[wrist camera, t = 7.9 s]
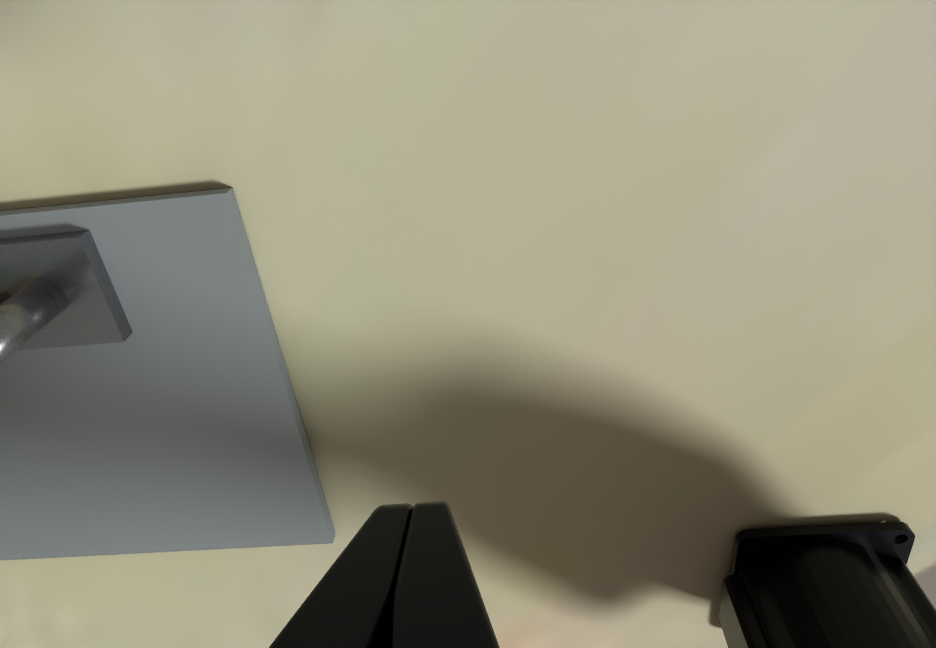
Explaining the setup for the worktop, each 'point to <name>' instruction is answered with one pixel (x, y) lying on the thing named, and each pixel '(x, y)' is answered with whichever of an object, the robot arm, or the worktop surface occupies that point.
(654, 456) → the worktop surface
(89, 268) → the post on square base
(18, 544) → the yard mat
